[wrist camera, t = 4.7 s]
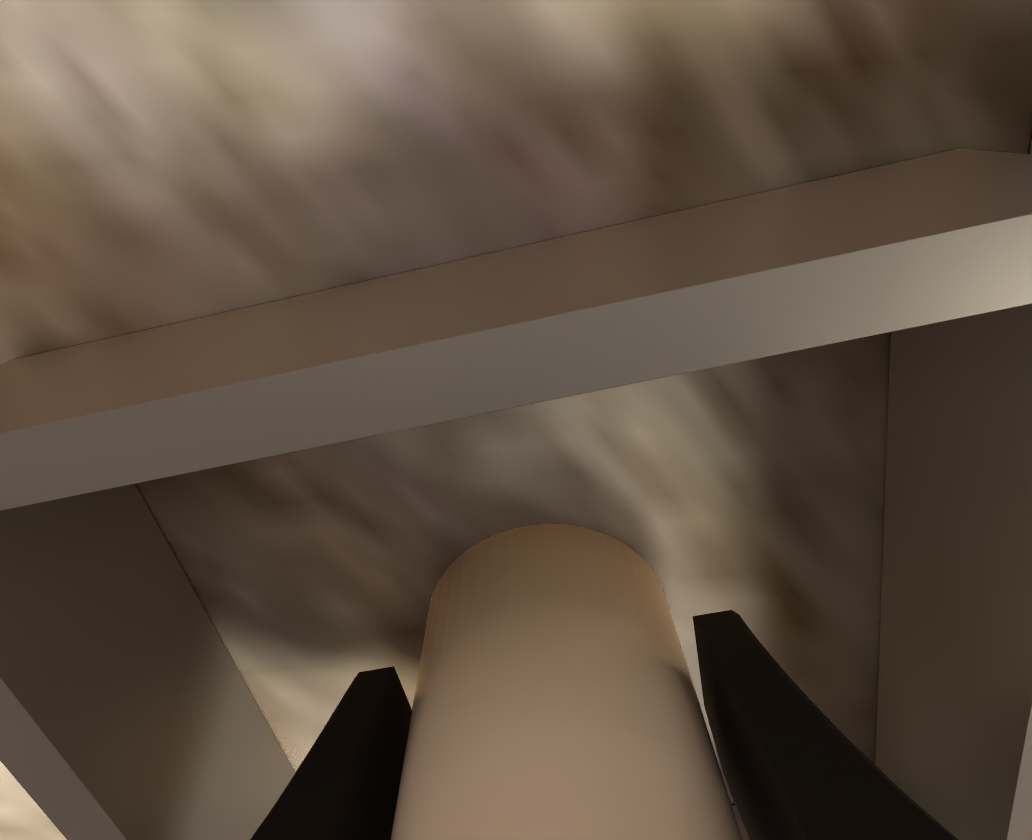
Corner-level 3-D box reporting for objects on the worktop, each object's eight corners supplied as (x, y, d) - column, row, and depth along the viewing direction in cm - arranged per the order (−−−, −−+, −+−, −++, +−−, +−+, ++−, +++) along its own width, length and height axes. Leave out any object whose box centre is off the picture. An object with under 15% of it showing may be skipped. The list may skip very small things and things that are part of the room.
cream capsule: (651, 502, 11) (792, 895, 5) (679, 688, 13) (804, 1118, 7) (398, 549, 11) (293, 960, 6) (462, 722, 13) (426, 1154, 8)
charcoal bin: (959, 149, 8) (1230, 172, 5) (910, 803, 14) (1025, 1001, 11) (10, 359, 10) (-235, 482, 6) (322, 884, 15) (274, 1084, 12)
